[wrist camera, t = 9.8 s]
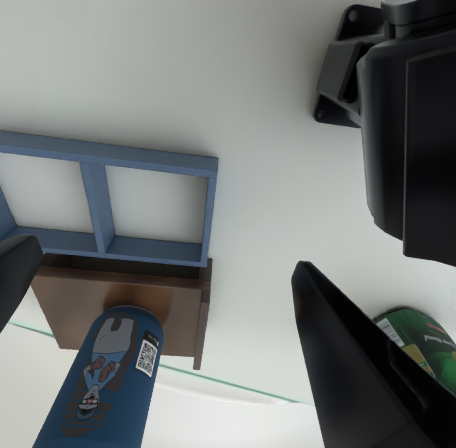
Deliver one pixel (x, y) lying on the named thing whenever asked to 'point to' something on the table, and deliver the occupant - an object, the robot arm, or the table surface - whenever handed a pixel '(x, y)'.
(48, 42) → the table surface
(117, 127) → the table surface
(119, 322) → the soda can
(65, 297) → the shelf
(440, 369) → the coffee jar
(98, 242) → the blue rack
